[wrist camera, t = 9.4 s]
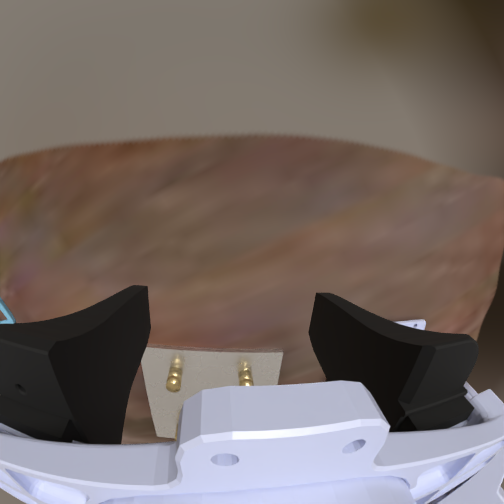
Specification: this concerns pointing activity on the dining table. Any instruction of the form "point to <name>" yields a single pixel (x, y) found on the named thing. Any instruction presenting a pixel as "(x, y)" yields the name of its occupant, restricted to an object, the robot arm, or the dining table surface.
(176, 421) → the plate with brass knobs
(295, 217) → the dining table surface
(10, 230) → the dining table surface
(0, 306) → the chair
